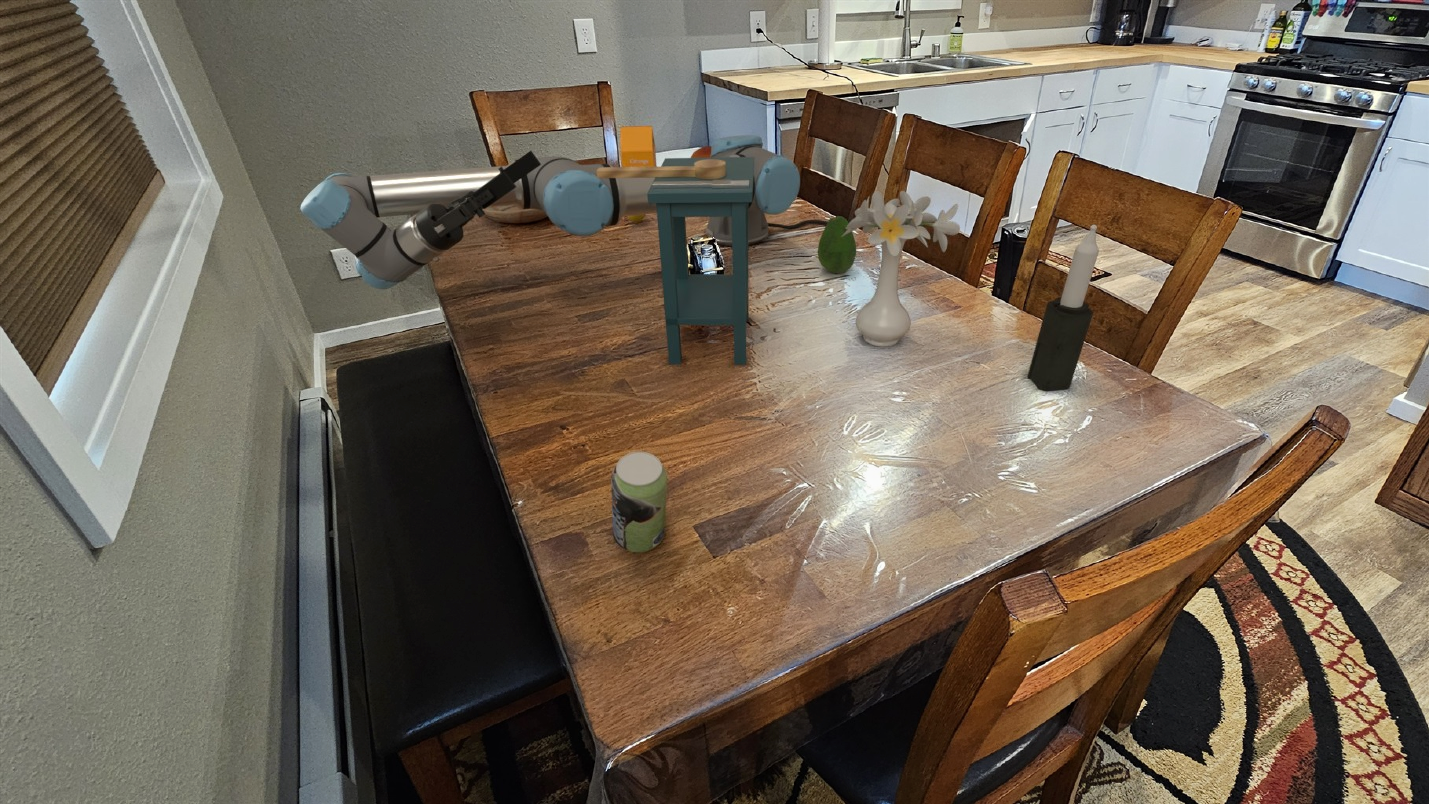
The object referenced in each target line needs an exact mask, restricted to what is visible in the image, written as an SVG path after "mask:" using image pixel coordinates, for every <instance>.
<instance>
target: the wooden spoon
mask: <svg viewBox="0 0 1429 804" xmlns="http://www.w3.org/2000/svg"><path fill="white" fill-rule="evenodd" d="M725 175H726V162H725V161H722V160H717V159H706V160H700V161H697V162H695V163H694V166H666V167H661V166H657V167H622V166H612V167H601V168H598V169H597V178H651V177H696V178H699V179H718V178H722V177H724V176H725Z"/></svg>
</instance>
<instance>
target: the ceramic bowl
mask: <svg viewBox="0 0 1429 804" xmlns="http://www.w3.org/2000/svg"><path fill="white" fill-rule="evenodd" d="M482 210H483V211H484V212H485V213H486V214H485V215H484V217H486V218H488V219H490V220H492V221H495V222H499V223H503V224H504V223H507V224H526V223H533V222H536V221H541V220H543V219H546V218H549V217H548V216H547V214H546V213H545V212H544V211H542V210H537V209H524V210H520V209H519V208H517V207H516V206H514V205H511V206H500V207H489V208H485V209H482Z"/></svg>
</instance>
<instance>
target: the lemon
mask: <svg viewBox="0 0 1429 804" xmlns="http://www.w3.org/2000/svg"><path fill="white" fill-rule="evenodd" d="M646 216H647V214H643V215H633V216H626V218H627V219H628V220H629V221H630V222H633V223H634V224H636V225H638V224H639V223H640V222H642V221H644V219H645V218H646Z"/></svg>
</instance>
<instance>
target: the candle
mask: <svg viewBox="0 0 1429 804" xmlns="http://www.w3.org/2000/svg"><path fill="white" fill-rule="evenodd" d="M1097 229H1098V226H1097V225H1096V224H1092V225H1090V227H1089V231H1088V232H1087V234H1086V236H1085V237H1084V239H1083V240H1082V241H1081V242H1080V243H1079V244H1077V246H1076V247H1075V249H1074V252H1073V255H1072V259H1071V261H1070V262H1071V263H1070V265H1069V266H1070V267H1069V270H1068V273H1067V277H1066V280H1065V283H1064V287H1063V290H1062V294H1061V296H1059V297H1056V298H1055V299H1054V300H1050V301H1047V303H1046V307H1045V311H1044V314H1043V318H1042V322H1041V325H1040V329H1039V333H1038V337H1037V341H1036V343H1035V347H1034V351H1033V355H1032V358H1031V362H1030V366H1029V369H1028V373H1027V379H1028V380H1030V381H1031V382H1032V383H1033V384H1034V385H1035V386H1036V388H1037V390H1040V391H1042V392H1054V391H1066V390H1069V389H1070V387H1071V385H1072V381H1073V378H1074V376H1075V373H1076V370H1077V365H1078V363H1079V359H1080V356H1081V353H1082V350H1083V347H1084V345H1085V344H1084V343H1085V340H1086V339H1087V334H1088V331H1089V328H1090V325H1091V322H1092V318H1093V316H1094V311H1093V310H1092V308H1091V309H1090V308H1089V307H1090V304H1089V303H1087V302H1086V300H1085V298H1086V296H1087V292H1088V289H1089V285H1090V282H1091V280H1092V279H1091V278H1092V275H1093V272H1094V269H1095V266H1096V263H1097V259H1098V256H1099V253H1100V249H1099V247H1098V244H1097V235H1096V234H1097V233H1096V231H1097Z"/></svg>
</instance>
